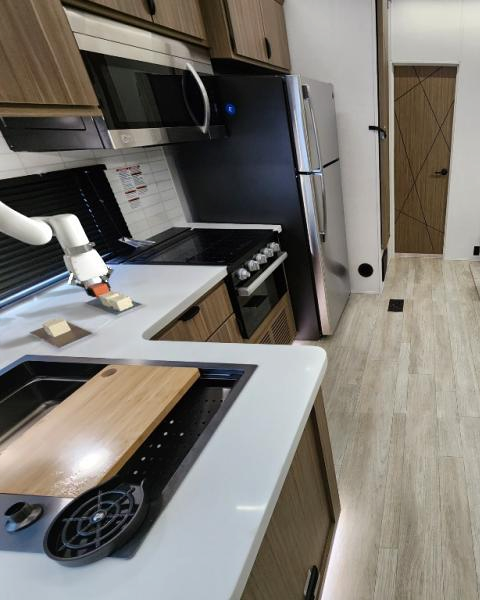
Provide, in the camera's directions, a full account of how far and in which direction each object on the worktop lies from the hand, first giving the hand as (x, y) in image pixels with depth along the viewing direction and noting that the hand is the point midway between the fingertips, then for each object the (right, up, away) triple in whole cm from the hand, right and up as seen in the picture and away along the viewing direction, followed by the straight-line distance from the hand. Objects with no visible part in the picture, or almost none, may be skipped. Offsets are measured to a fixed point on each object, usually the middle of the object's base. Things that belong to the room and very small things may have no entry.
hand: (100, 293), depth 129 cm
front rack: (+4, -14, -19) cm, 24 cm away
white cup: (-14, +3, +13) cm, 19 cm away
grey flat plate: (+6, -5, -1) cm, 8 cm away
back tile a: (+13, -5, -4) cm, 14 cm away
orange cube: (0, 0, 0) cm, 1 cm away
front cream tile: (+3, -13, -19) cm, 23 cm away
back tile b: (+6, -4, -1) cm, 8 cm away
